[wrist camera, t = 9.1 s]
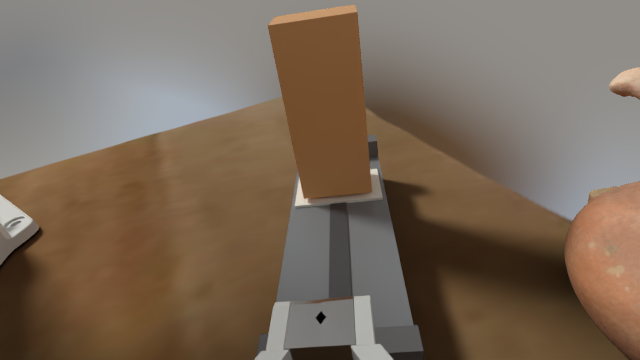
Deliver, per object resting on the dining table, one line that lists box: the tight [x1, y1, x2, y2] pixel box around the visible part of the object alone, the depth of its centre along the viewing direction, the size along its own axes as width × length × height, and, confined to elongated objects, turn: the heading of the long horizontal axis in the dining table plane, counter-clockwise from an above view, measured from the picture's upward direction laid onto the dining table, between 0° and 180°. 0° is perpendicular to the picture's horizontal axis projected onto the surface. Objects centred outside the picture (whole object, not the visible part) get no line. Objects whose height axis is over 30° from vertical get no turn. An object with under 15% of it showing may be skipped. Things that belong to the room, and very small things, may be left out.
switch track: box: [256, 135, 424, 360], centre depth 25 cm, size 20×7×4 cm, turn 178°
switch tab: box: [268, 5, 372, 199], centre depth 24 cm, size 3×5×12 cm, turn 88°
